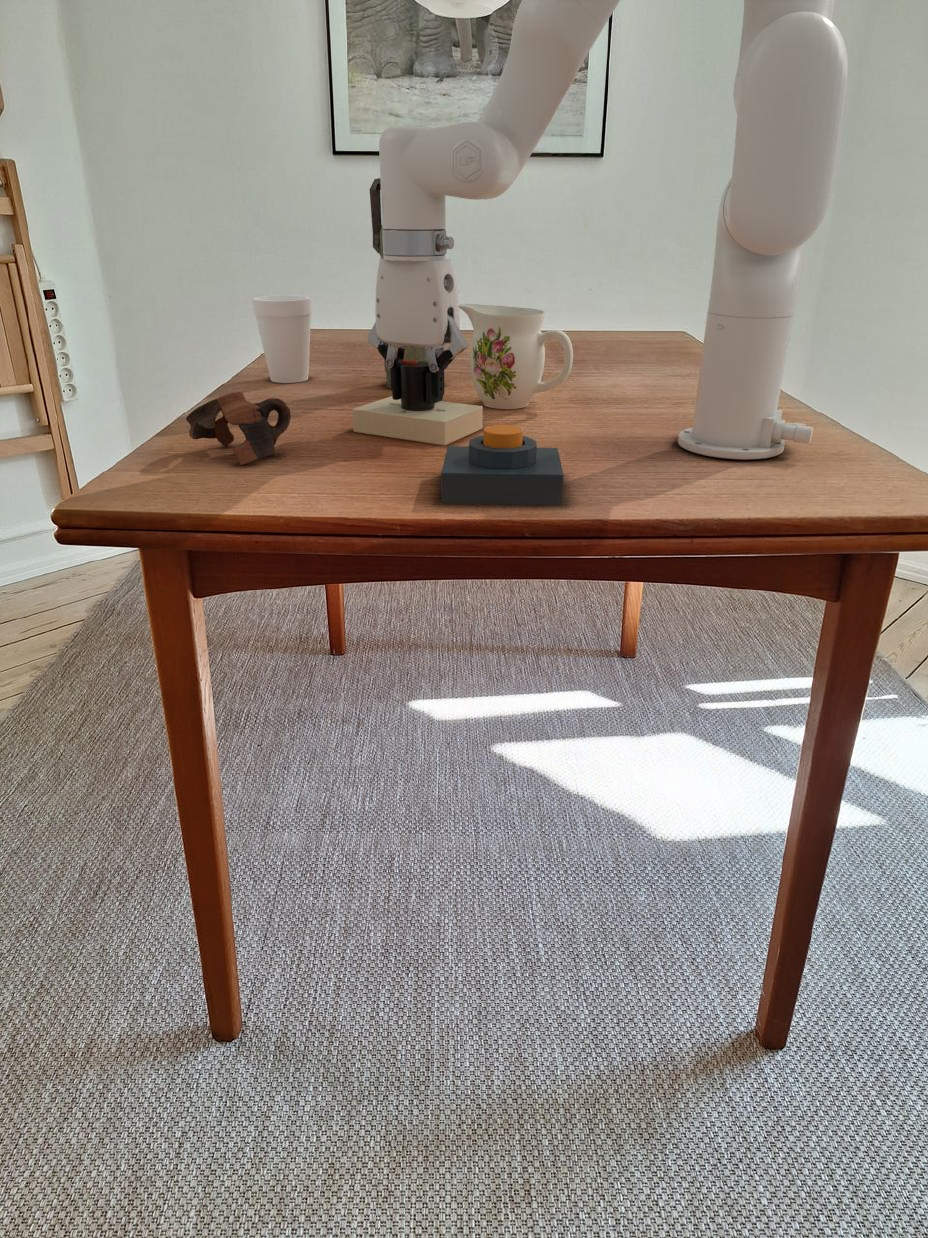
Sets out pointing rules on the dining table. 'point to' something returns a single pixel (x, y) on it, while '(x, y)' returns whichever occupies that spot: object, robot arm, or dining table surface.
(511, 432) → the release button
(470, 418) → the dial panel
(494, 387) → the pitcher
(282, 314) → the foam cup
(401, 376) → the dial
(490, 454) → the button base
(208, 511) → the dining table surface
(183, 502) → the dining table surface
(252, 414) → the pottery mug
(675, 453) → the dining table surface
